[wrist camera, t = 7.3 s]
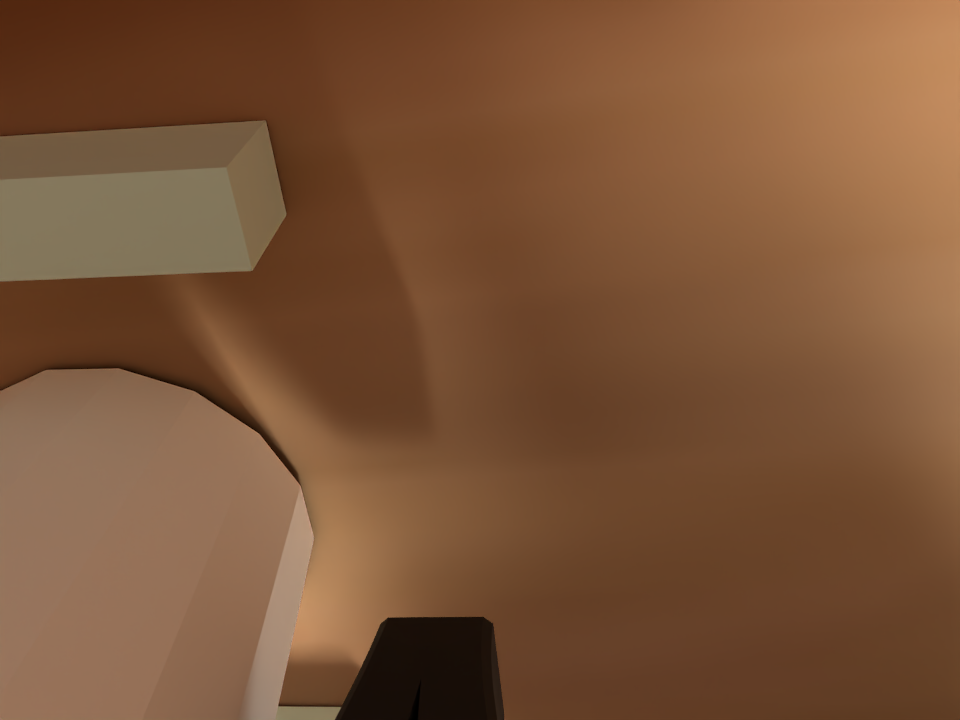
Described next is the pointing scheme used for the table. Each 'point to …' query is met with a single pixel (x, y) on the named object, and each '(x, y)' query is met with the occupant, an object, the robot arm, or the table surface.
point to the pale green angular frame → (141, 211)
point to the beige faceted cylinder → (142, 554)
